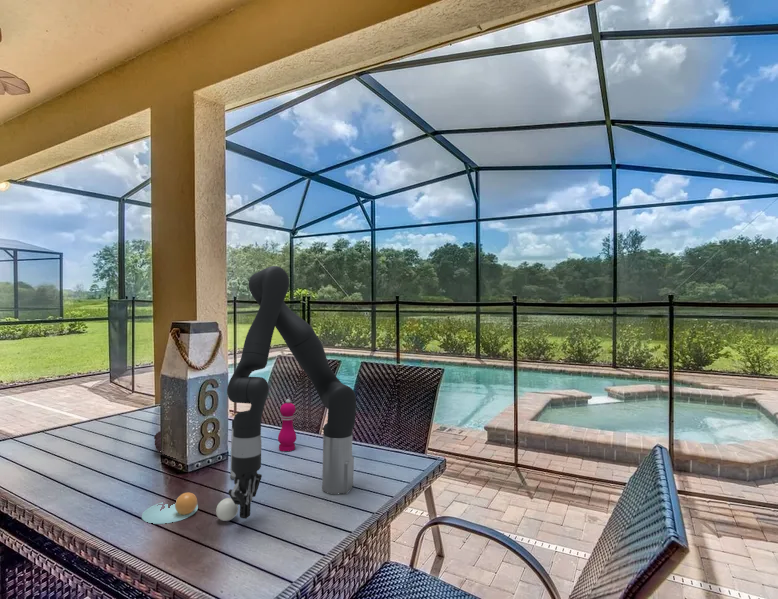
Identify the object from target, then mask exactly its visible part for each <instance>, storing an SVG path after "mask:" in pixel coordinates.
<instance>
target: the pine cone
mask: <svg viewBox="0 0 778 599" xmlns="http://www.w3.org/2000/svg"><path fill="white" fill-rule="evenodd" d="M161 431H162V430H160V431H158V432H156V433H155V435H154V436H153V439H154V447H155V449H156V451H157V452H158V453H160V451H161ZM160 454H161V453H160Z"/></svg>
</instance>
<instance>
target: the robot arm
mask: <svg viewBox="0 0 778 599" xmlns="http://www.w3.org/2000/svg"><path fill="white" fill-rule="evenodd" d="M289 287H290V279H289V275H288V273H287V272H286V270H285V269H283V268H282V267H280V266H278V265H277V266H276V265H272V266H268V267H266V268H264V269H261V270H259V271H257V272H255V273H253V274H252V275H251V276H250V277H249V279H248V289H249V292H250V294H251V296H252V298H253V299H254V300H255V301H256V302H257V304H258V305H259V308H258V311H257V313H256V315H255V317H254V318H253V321H252V323H251V325H250V327H249V329H248V331H247V333H246V336H245V339H244V344H243V347H242V352H241V357H240V359H239V362H238V364H237V366H236V368H235V370H234V372H233V374H232V376H231V377H230V379H229V382H228V384H227V388H226V393H227V394H226V395H227V397H228V399H229V401H230V402H232V403H236V404H249V405H250V408H249V410H243V411H239V412H237V413H235V415H234V417H233V420H234V426H233V441H232V464H231V463H230V471H231V470H232V471H233V472H234V473H235V475H236V476H235V480H233V484H234V486H233V488H232V489H229V490H228V495H229V498H231V499H232V500H233V502H234V503H235V504H237V505H238V506H239V518H241V519H244V520H245V519H247V518H249V517H250V516H251V506H252V505H251V503H252V501H253V498H256V495H257V492H258V489H259V486H260V483H261V481H262V476H263V474H260V473H258V471H260V469H261V468H262V435H261V434H262V418H263V413H264V409H265V405H266V402H267V399H268V396H269V389H270V388H269V383H268V381H267V380H266V379H265V378H264V377H260V376H250V375H251V374H252V373H253V372H255V371H261V370H263V369H265V368H266V367H267V364H268V360H269V355H270V354H269V353H270V350H271V345H272V344H271V343H272V340H273V335H274V332H275V329H276V330H277V331H278V334H280V336H281V337H282V340H284V343H285V344H286V346H287V348H288V349H289V351H290V352H291V354H292V355H293V357H294V359H295V361H296V362H297V363H298V365H299V366H300V367H301V369H302V370H303V371H304V372H305V374H306V375H307V376H308V378H309V379H310V381H311V383H312V384H313V386H314V388H315V390H316V393H317V394H318V395H317V396H318V397H319V399H320V401H321V403H322V404H323V406H324V407H325V408H326V409H327V421H326V422H327V423H326V424H324V425H323V429H322V430H323V434H322V436H323V437H322V473H321V476H322V477H321V478H322V479H321V483H322V484H321V488H322V489H323V490H322V489H321V490H322V491H323V492H324V491H325V492H324V493H326V492H328V493H327V494H329V493H332V494H331V495H339V494H338V493H343V494H345V493H349V492H350V491H351V490H352V489H353V487H354V477H355V476H354V473H355V472H354V471H355V470H354V469H355V468H354V467H355V466H354V465H355V457H354V456H353V432H354V431H353V430H354V427H355V424H356V412H357V398H356V397H357V396H356V393H355V391H354V390H353V388H351V387H350V386H348V385H346V384H345V383H343V382H341V381H340V379H339V378H338V377H337V375H336V374H335V373H334V371H333V370H332V368H331V367H330V365H329V362H328V359H327V355H326V352H325V348H324V346H323V343H322V342H321V341H320V338H319V336H318V335H317V333H316V331H315V330H314V329H313V327H312V326H311V325H310V324H309V323H308V322H307V321H306V320H304V319H303V318H302V317H301V316H299V315H297V314H296V313H295V312H294V311H292V310H291V309H290V307H289V306H288V305H287V303H286V302H285V299H286V297H287V293H288V291H289ZM352 486H353V487H352ZM350 489H351V490H350ZM349 490H350V491H349ZM348 491H349V492H348Z"/></svg>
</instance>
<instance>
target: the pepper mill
mask: <svg viewBox="0 0 778 599" xmlns="http://www.w3.org/2000/svg"><path fill="white" fill-rule="evenodd" d="M279 410H280V411H279V412H280V414H281V417H280V418H281V421H282V424H281V428H280V431H279V433H278V436H277V442H279V444H278V451H281V452H284V451H288V452H292V450H293V451H294V450H295V448H296V444H295V443H296V441H297V433H296V431H295V429H294V419H295V415H294V414H295V412H296V406H295V404H293V403H292V402H291V399H289V398H287V399H286V400H285V403H283V404H282V405H281V406H280V409H279Z"/></svg>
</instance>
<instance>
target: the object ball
mask: <svg viewBox="0 0 778 599" xmlns="http://www.w3.org/2000/svg"><path fill="white" fill-rule="evenodd" d="M175 500H176V503H175V509H176V511H177V512H178V513H179V514H182V515H187V514H190V513H191V512H193V511H194V510H195V508H196V506H197V505H198V498H197V496H196V495H195V494H194V493H193V492H183V493H181V494H180V495H179V496H178V497H177V498H176V499H175Z"/></svg>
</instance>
